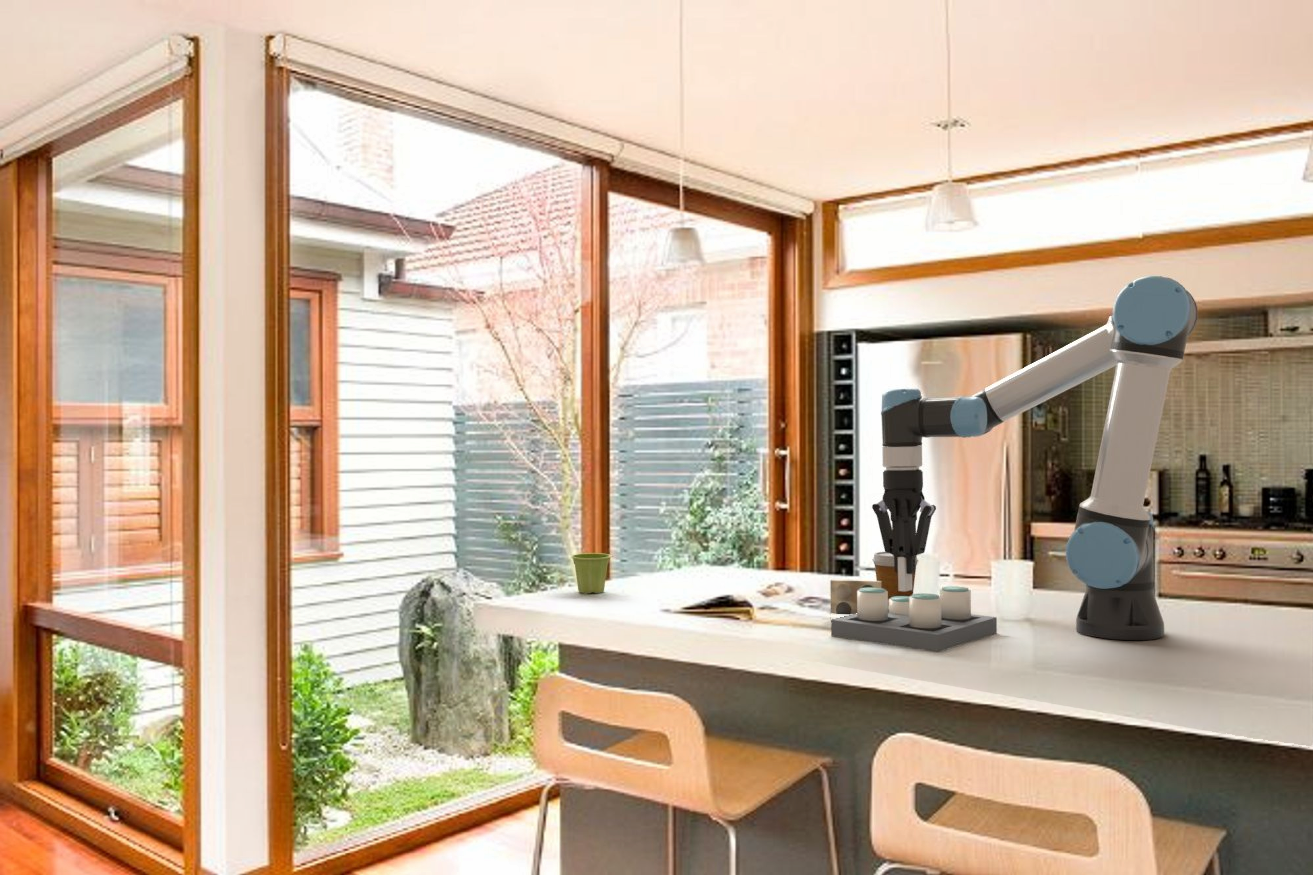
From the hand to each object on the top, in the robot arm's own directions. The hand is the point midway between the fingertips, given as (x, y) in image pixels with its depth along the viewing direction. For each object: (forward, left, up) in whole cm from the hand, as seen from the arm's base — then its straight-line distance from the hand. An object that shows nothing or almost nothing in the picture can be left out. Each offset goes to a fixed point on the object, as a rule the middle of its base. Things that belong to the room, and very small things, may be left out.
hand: (905, 590), depth 210 cm
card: (+11, +1, -7) cm, 13 cm away
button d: (0, +11, -4) cm, 12 cm away
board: (-5, +6, -7) cm, 10 cm away
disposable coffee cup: (+11, -14, -7) cm, 20 cm away
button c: (-11, +11, -4) cm, 16 cm away
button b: (0, 0, -7) cm, 7 cm away
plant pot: (+79, +10, -7) cm, 80 cm away
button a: (-11, 0, -4) cm, 11 cm away
